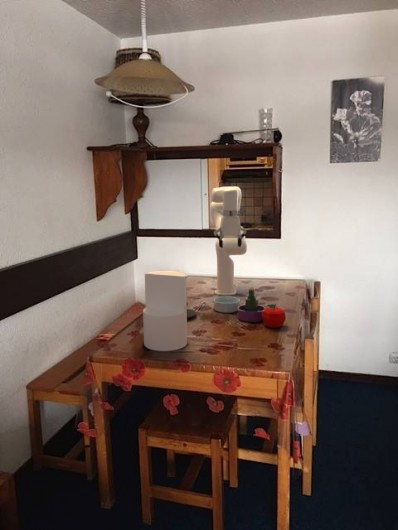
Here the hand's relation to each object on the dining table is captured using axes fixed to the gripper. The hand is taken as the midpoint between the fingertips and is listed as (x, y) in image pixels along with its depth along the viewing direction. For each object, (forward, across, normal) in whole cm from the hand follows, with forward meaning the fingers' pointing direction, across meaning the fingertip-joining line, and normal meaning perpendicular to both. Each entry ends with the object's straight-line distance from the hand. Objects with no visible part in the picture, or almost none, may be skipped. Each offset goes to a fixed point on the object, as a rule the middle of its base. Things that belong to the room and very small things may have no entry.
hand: (230, 247), depth 234 cm
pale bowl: (+30, +5, +11) cm, 32 cm away
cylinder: (+29, +42, +50) cm, 72 cm away
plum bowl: (+30, -2, +28) cm, 41 cm away
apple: (+30, -8, +41) cm, 51 cm away
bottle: (+29, -2, +28) cm, 40 cm away
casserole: (+30, +35, +16) cm, 48 cm away
